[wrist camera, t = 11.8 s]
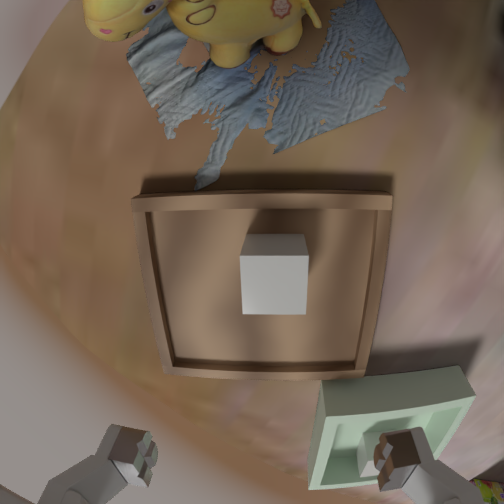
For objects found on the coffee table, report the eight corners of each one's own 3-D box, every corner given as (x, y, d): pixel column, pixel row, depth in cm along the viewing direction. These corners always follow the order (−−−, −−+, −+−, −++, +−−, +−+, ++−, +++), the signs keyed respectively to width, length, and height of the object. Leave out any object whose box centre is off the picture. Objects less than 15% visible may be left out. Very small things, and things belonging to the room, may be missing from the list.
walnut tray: (385, 191, 21) (392, 195, 20) (360, 366, 27) (363, 377, 26) (139, 194, 23) (130, 198, 21) (168, 362, 29) (164, 373, 27)
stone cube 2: (303, 233, 22) (308, 255, 18) (302, 285, 24) (305, 314, 20) (246, 234, 22) (239, 255, 19) (248, 285, 24) (242, 313, 20)
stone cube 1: (395, 429, 29) (402, 455, 26) (386, 447, 31) (392, 472, 27) (362, 433, 30) (367, 460, 26) (355, 451, 31) (359, 477, 28)
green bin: (458, 365, 27) (476, 395, 22) (417, 446, 32) (425, 473, 28) (321, 378, 28) (326, 416, 23) (307, 459, 33) (308, 489, 29)
